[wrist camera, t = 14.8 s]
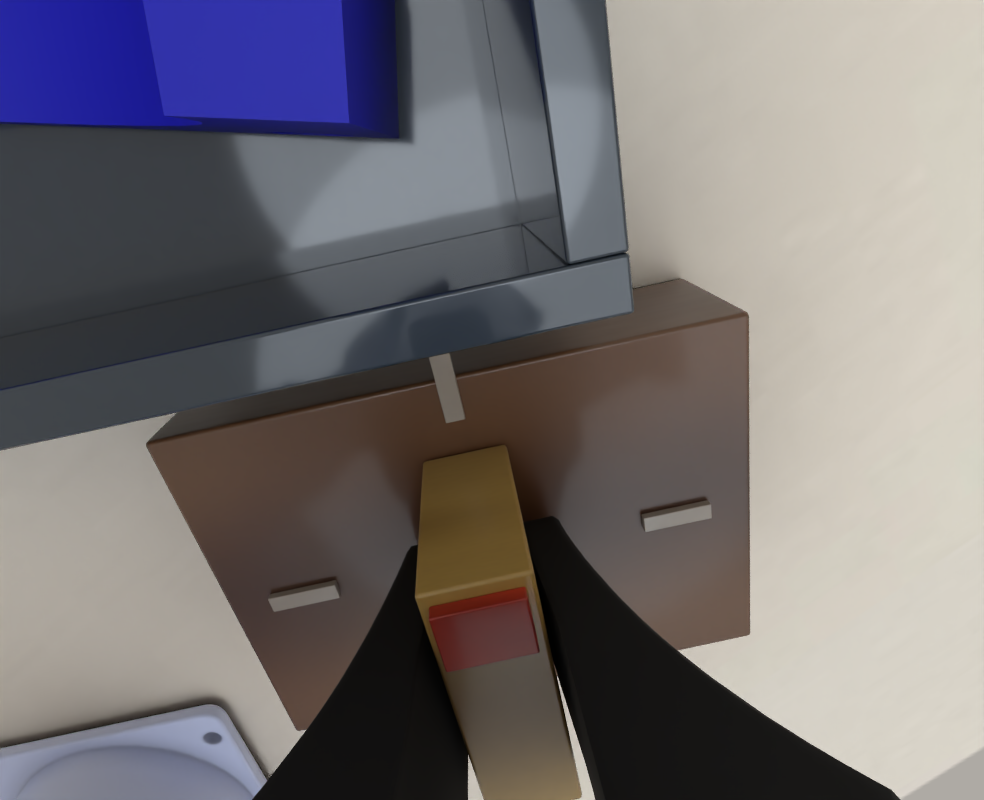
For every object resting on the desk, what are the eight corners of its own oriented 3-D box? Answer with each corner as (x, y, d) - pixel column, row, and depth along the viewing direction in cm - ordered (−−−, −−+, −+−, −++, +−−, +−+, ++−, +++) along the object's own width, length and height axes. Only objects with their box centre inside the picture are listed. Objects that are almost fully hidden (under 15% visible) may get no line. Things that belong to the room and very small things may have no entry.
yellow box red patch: (547, 633, 12) (586, 815, 9) (477, 648, 12) (490, 835, 9) (505, 442, 10) (536, 584, 7) (422, 460, 10) (412, 610, 7)
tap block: (698, 568, 16) (755, 659, 13) (327, 648, 16) (303, 755, 13) (681, 251, 12) (755, 280, 9) (196, 356, 12) (121, 418, 9)
